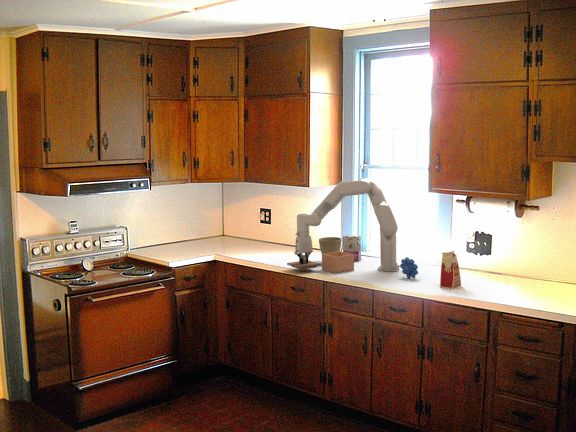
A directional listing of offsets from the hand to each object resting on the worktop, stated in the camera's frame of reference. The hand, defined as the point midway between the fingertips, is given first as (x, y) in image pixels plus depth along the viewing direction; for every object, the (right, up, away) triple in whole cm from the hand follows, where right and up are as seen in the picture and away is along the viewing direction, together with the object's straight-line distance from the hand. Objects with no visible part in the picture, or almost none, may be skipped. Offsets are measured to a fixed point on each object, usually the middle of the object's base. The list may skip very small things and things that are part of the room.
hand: (303, 263), depth 401 cm
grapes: (+59, -7, -27) cm, 65 cm away
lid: (0, -2, 0) cm, 2 cm away
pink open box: (+21, -4, 0) cm, 21 cm away
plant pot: (+18, -2, +21) cm, 28 cm away
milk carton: (+77, -9, -50) cm, 92 cm away
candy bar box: (+32, 0, +28) cm, 43 cm away
